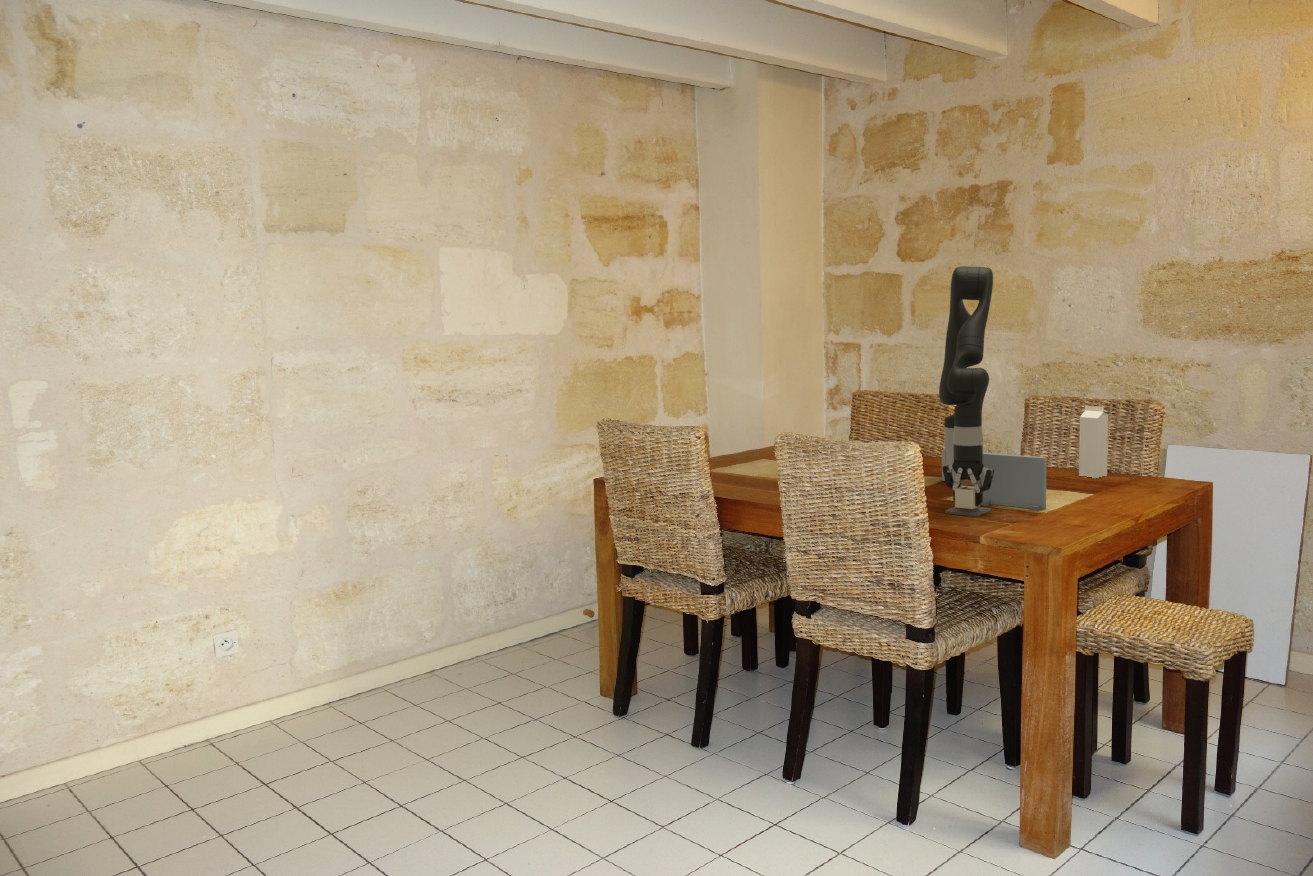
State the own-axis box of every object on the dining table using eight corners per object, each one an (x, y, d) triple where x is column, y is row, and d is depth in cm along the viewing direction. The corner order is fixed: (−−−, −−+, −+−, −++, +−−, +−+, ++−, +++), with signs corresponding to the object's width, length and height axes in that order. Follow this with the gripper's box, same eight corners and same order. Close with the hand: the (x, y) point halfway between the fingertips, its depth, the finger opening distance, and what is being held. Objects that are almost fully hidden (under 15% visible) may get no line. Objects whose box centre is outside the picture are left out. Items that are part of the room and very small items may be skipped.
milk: (1096, 478, 306) (1098, 407, 302) (1078, 476, 310) (1079, 406, 307) (1107, 476, 309) (1108, 405, 306) (1088, 473, 314) (1090, 404, 311)
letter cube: (955, 507, 268) (955, 488, 267) (962, 503, 271) (962, 485, 271) (972, 509, 264) (972, 490, 264) (980, 505, 268) (980, 487, 267)
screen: (975, 504, 277) (975, 454, 275) (984, 500, 281) (984, 451, 279) (1040, 511, 265) (1041, 459, 263) (1048, 507, 270) (1049, 456, 268)
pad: (944, 513, 268) (944, 510, 268) (959, 507, 274) (958, 504, 274) (977, 516, 262) (977, 514, 262) (990, 510, 269) (990, 508, 268)
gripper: (936, 442, 267) (936, 504, 270) (988, 446, 258) (988, 510, 260) (948, 439, 273) (948, 499, 275) (999, 442, 264) (999, 505, 266)
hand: (967, 504), depth 268 cm, fingers closed on letter cube, 5 cm apart
